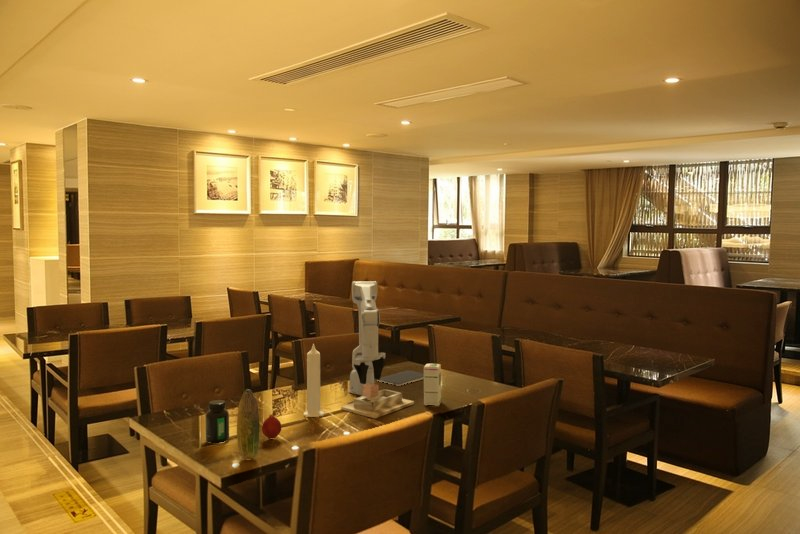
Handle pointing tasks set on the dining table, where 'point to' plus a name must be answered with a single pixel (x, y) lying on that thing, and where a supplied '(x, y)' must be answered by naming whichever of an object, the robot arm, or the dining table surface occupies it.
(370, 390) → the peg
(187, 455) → the dining table surface
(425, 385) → the syrup box
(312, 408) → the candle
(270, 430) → the onion
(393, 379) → the notebook
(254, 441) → the vegetable
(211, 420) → the supplement bottle
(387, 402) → the holder
